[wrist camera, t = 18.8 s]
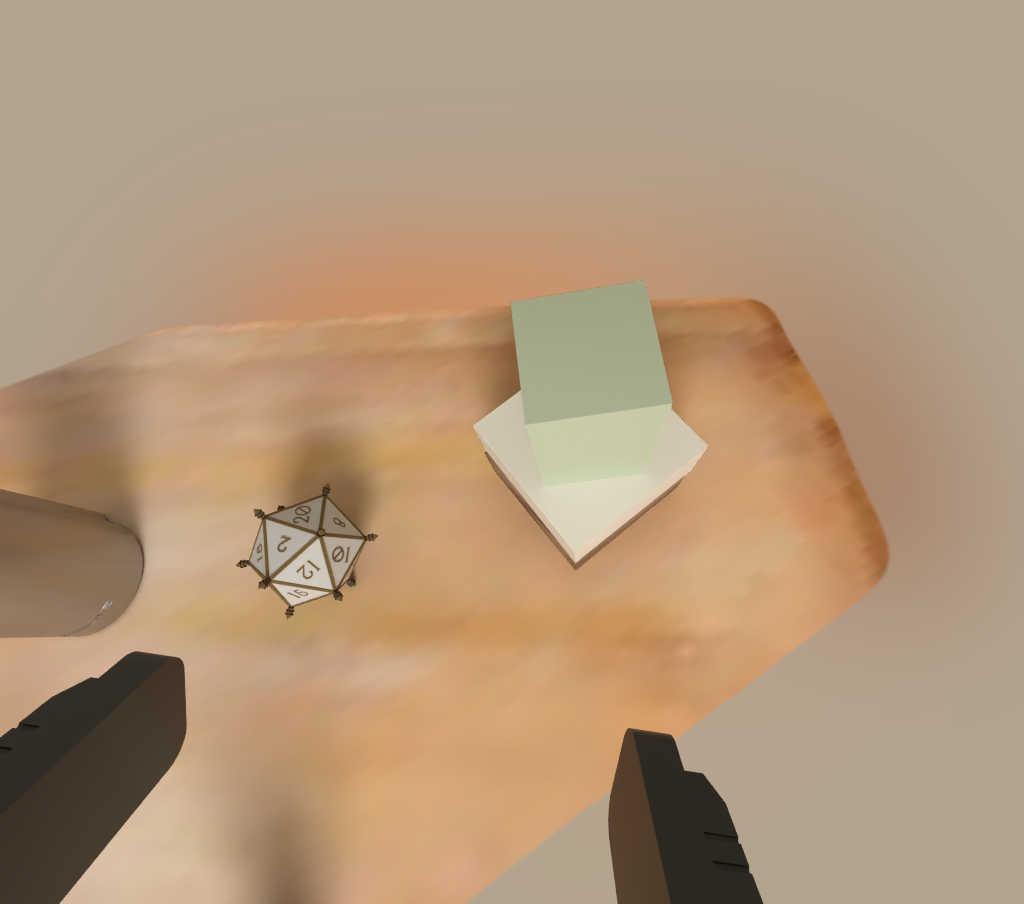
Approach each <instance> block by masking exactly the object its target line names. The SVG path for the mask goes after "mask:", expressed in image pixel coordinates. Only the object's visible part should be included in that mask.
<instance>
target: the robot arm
mask: <svg viewBox="0 0 1024 904" xmlns="http://www.w3.org/2000/svg"><path fill="white" fill-rule="evenodd" d="M142 569H143V556H142V552H141V548H140V545H139V543H138V541H137V539H136V537H135V536H134V535H133V534H132V533H131V532H130V531H129V530H128V529H126V528H125V527H123V526H121V525H118V524H114V523H111V522H108V521H107V520H106V518H105V516H104V514H103V513H99V512H94V511H90V510H86V509H82V508H78V507H73V506H69V505H65V504H61V503H57V502H52V501H48V500H44V499H40V498H36V497H31V496H27V495H23V494H19V493H15V492H10V491H6V490H2V489H0V638H22V637H79V636H84V635H90V634H92V633H95V632H97V631H100V630H102V629H103V628H105V627H106V626H108V625H110V624H111V623H112V622H113V621H115V620H116V619H117V618H118V617H119V616H120V615H121V614H122V613H123V612H124V610H125V609H126V608H127V607H128V605H129V604H130V602H131V601H132V599H133V597H134V595H135V593H136V591H137V589H138V586H139V583H140V580H141V575H142ZM185 734H186V699H185V672H184V664H183V662H182V660H181V659H180V658H177V657H171V656H165V655H158V654H152V653H145V652H139V651H137V652H132V653H130V654H128V655H126V656H125V657H124V658H122V659H121V660H120V661H119V662H117V663H116V664H115V665H114V666H113V667H111V668H110V669H109V670H108V671H107V672H105V673H104V674H103V675H102V676H101V677H99V678H89V679H87V680H85V681H83V682H81V683H79V684H77V685H75V686H73V687H71V688H69V689H67V690H65V691H63V692H61V693H59V694H57V695H55V696H53V697H51V698H50V699H49V700H48V701H46V702H45V703H44V704H42V705H41V706H40V707H39V708H37V709H36V710H35V711H34V712H32V713H31V714H30V715H28V716H27V717H26V718H25V719H23V720H22V721H21V722H20V723H19V725H18V727H17V728H12V729H11V730H9V731H8V732H7V733H6V734H4V735H3V736H2V737H0V904H59V903H60V902H61V901H62V900H63V898H64V897H65V896H66V895H67V894H68V892H69V891H70V890H71V889H72V887H73V886H74V885H75V884H76V882H77V881H78V880H79V879H80V878H81V876H82V875H83V874H84V873H85V871H86V870H87V869H88V868H89V867H90V865H91V864H92V863H93V862H94V860H95V859H96V858H97V857H98V855H99V854H100V853H101V852H102V851H103V849H104V848H105V847H106V846H107V844H108V843H109V842H110V841H111V840H112V838H113V837H114V836H115V835H116V833H117V832H118V831H119V830H120V829H121V827H122V826H123V825H124V824H125V822H126V821H127V820H128V819H129V817H130V816H131V815H132V814H133V813H134V811H135V810H136V809H137V808H138V806H139V805H140V804H141V803H142V802H143V800H144V799H145V798H146V797H147V795H148V794H149V793H150V792H151V790H152V789H153V788H154V787H155V786H156V784H157V783H158V782H159V781H160V779H161V778H162V777H163V776H164V775H165V773H166V772H167V771H168V770H169V768H170V767H171V766H172V764H173V763H174V761H175V759H176V758H177V756H178V754H179V752H180V750H181V747H182V745H183V742H184V739H185ZM608 823H609V840H610V848H611V855H612V863H613V871H614V878H615V886H616V894H617V901H618V904H763V902H762V899H761V896H760V894H759V891H758V889H757V886H756V883H755V880H754V878H753V875H752V874H750V873H749V864H748V862H747V859H746V856H745V854H744V851H743V848H742V846H741V844H739V843H738V835H737V832H736V830H735V827H734V824H733V822H732V819H731V816H730V814H729V811H728V808H727V806H726V803H725V802H724V801H723V799H722V798H721V797H720V795H719V794H718V793H717V792H716V790H715V789H714V788H713V786H712V785H711V784H710V782H709V781H708V780H707V778H706V777H705V776H704V774H702V773H696V772H690V771H684V768H683V765H682V762H681V759H680V756H679V752H678V749H677V746H676V743H675V740H674V738H673V737H672V735H670V734H664V733H658V732H651V731H645V730H638V729H632V728H628V729H627V731H626V733H625V735H624V739H623V744H622V748H621V752H620V756H619V761H618V765H617V769H616V773H615V778H614V782H613V786H612V790H611V795H610V802H609V818H608Z"/></svg>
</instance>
